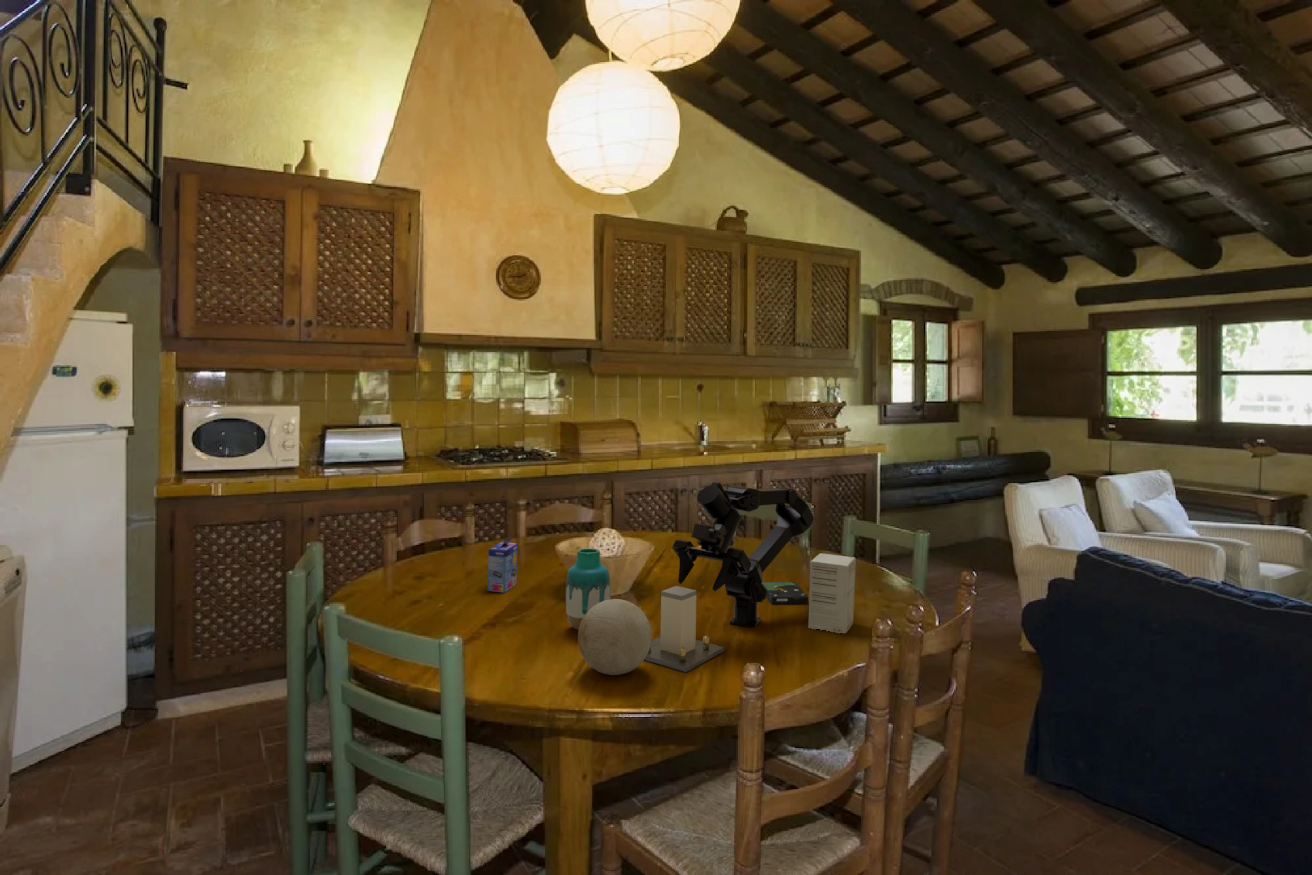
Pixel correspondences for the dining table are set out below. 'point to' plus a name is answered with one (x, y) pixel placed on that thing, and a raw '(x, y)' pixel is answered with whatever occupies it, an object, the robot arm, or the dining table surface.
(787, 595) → the disk drive
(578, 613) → the vase
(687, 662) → the plate
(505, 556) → the ink cartridge box
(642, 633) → the decorative sphere
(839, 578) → the supplement box
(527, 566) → the dining table surface
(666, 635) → the module box
